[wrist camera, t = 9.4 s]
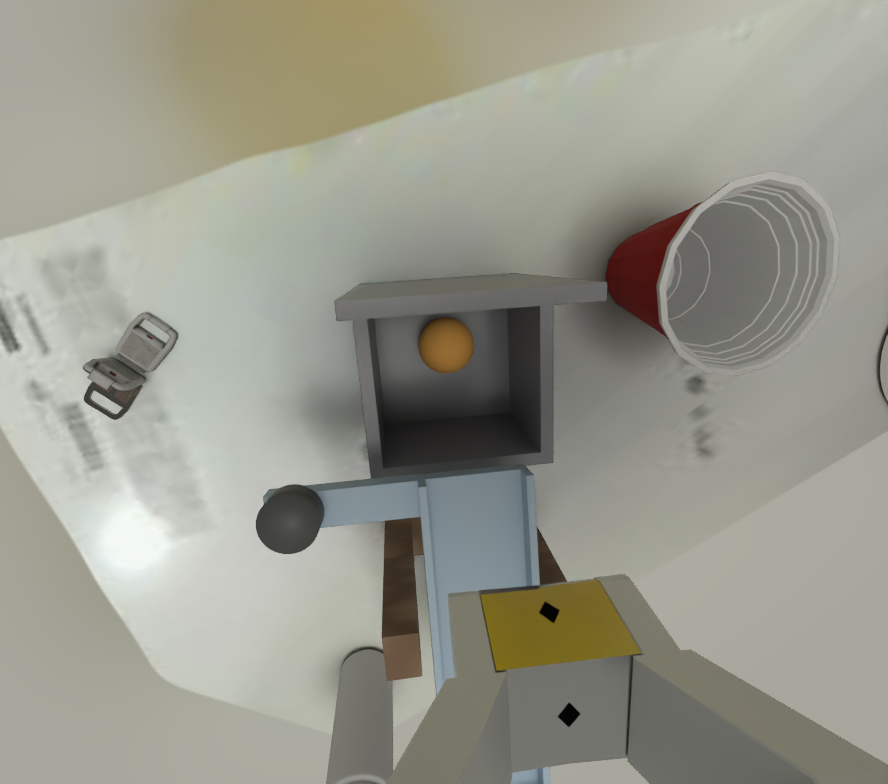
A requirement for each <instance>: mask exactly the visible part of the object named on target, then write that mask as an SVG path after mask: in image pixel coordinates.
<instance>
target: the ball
mask: <svg viewBox="0 0 888 784" xmlns="http://www.w3.org/2000/svg"><path fill="white" fill-rule="evenodd" d="M418 348H419V353H420V356H421V358H422V360H423V362H424V363H425V364H426V365H427V366H428V367H429V368H430V369H432V370H434V371H436V372H439V373H445V374H447V373H454V372H456V371H459V370H461V369H462V368H463V367H465V366H466V365H467V364H468V362H469V361H470V359H471V357H472V355H473V351H474V340H473V336H472V334H471V332H470V330H469V329H468V327H467V326H466V325H465V324H464V323H462V322H461V321H459V320H457V319H454V318H448V317H447V318H439V319H436V320H434V321H432V322H430V323H429V324H428V325H427V326H426V327H425V328H424V329H423V331H422V333H421V335H420V337H419V343H418Z"/></svg>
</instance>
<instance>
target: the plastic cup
mask: <svg viewBox="0 0 888 784" xmlns="http://www.w3.org/2000/svg"><path fill="white" fill-rule="evenodd" d="M839 243H840V236H839V233H838V230H837V227H836V224H835V221H834V218H833V215H832V212H831V209H830V206H829V203H828V202H827V201H826V200H825V199H824V198H823V197H822V196H821V195H820V194H819V193H818V192H817V191H816V190H815V189H814V188H813V187H812V186H811V185H810V184H809V183H808V182H806V181H805V180H804V179H801V178H796V177H792V176H788V175H783V174H779V173H775V172H771V171H770V172H766V173H762V174H758V175H754V176H750V177H747V178H743V179H739V180H735V181H732V182H730V183H728V184H726V185H725V186H723V187H722V188H721V189H719V190H718V191H717V192H715V193H714V194H713V195H711V196H710V197H709V198H707V199H706V200H705V201H703V202H701V203H698V204H696V205H694V206H693V207H692V208H690V209H688V210H686V211H684V212H681V213H679V214H677V215H674V216H672V217H670V218H668V219H665V220H663V221H661V222H659V223H656V224H654V225H652V226H650V227H648V228H647V229H646V230H644V231H642V232H639V233H637V234H635V235H633V236H631V237H630V238H629V239H627V240H626V241H625V242H623V243H622V244H621V245H620V246H619V247H617V249H616V251H615V252H614V254H613V255H612V257H611V258H610V260H609V263H608V268H607V272H606V280H607V287H608V290H609V292H610V294H611V295H612V297H613V299H614V300H615V301H616V303H617V304H619V305H620V306H622V307H623V308H625V309H626V310H627V311H629V312H630V313H631V314H633V315H634V316H636V317H637V318H639V319H640V320H642V321H643V322H645V323H647V324H648V325H650V326H651V327H653V328H655V329H656V330H658V331H659V332H660V333H661V334H663V335H664V336H666V338H667V339H668V340H669V342H670V344H671V345H672V347H673V349H674V351H675V352H676V353H677V354H678V355H679V356H680V357H682V358H683V359H685V360H686V361H688V362H689V363H691V364H692V365H694V366H695V367H696V368H698V369H699V370H701V371H702V372H705V373H713V374H721V375H730V376H737V375H740V374H744V373H747V372H750V371H754V370H757V369H760V368H764V367H767V366H769V365H770V364H772V363H773V362H774V361H776V360H777V359H779V358H780V357H781V356H783V355H784V354H786V353H787V352H788V351H790V350H791V349H793V348H794V347H795V346H797V345H798V344H799V343H800V342H801V340H802V339H803V338H804V336H805V335H806V334H807V333H808V331H809V330H810V329H811V327H812V326H813V325H814V323H815V322H816V321H817V320H818V318H819V317H820V316H821V314H822V313H823V311H824V308H825V306H826V303H827V301H828V298H829V296H830V293H831V290H832V288H833V285H834V283H835V280H836V278H837V274H838V258H839Z"/></svg>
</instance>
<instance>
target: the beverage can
mask: <svg viewBox="0 0 888 784" xmlns="http://www.w3.org/2000/svg"><path fill="white" fill-rule="evenodd" d="M392 772H393V695H392V680H391V681H387V677H386V668H385V660H384V654H383V653H381V652H379V651H377V650H372V649H364V650H360V651H358V652H356V653H354V654H352V655H351V656H350V657H348V658H347V659H346V660H345V662H344V663H343V665H342V668H341V671H340V679H339V687H338V694H337V702H336V710H335V718H334V726H333V734H332V741H331V749H330V758H329V765H328V773H327V781H326V784H386V783H387V781H388V779H389V777H390V776H391V774H392Z"/></svg>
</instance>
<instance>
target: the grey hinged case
mask: <svg viewBox="0 0 888 784" xmlns="http://www.w3.org/2000/svg"><path fill="white" fill-rule="evenodd" d="M145 319H146V320H148V321H150V322H151V323H153V324H154V325H155V326H157V327H158V328H160V329H161V330H163V331H164V332H166V333H167V334H168V335H169V336H170V338H169V340H168V342H167V343H164V342H163V341H162V340H160V339H159V338H157V337H156V336H154V335H153V334H151V333H150V332H148V331H147V330H145V329H144V328H142V327H141V326H139V325H140V324H141V323H142V322H143V321H144V320H145ZM177 339H178V333H177V332H176V331H175V330H174V329H172V327H170V326H169V325H167V324H166V323H164V322H163V321H162V320H160V319H159V318H157V317H156V316H153V315H152V314H150V313H142V314H140V315H139V316H138V317H137V318H136V319H135V320H133V321H132V322H131V323H130V325H129V327H128V328H127V330H126V332H125V333H124V335H123V337H122V338H121V340H120V342H119V344H118V345H117V347H116V351H117V352H118V355H117V356H118V357H119V358H121V359H123V360H124V361H126V362H127V363H129V364H130V365H132V366H133V367H135V368H136V369H138V370H140V371H141V372H143V373H146V372H151V371H153V370H155V369H156V368H157V367H158V366H159V365H160V363H161V362H162V361H163V360H164V359H165V357H166V356H167V355H168V354H169V352H170V351H171V350H172V349H173V347H174V345H175V343H176V341H177ZM83 369H84V370H85V371H86V372H88V373H89V374H90V375H89V376H88V379H90V380H92V381H93V382H92V383H91V384H90V386H89V387H88V389H87V391H86V394H85V396H84V401H85V402H86V403H87V404H88V405H90V406H92V407H94V408H95V409H97V410H99V411H100V412H102V413H103V414H105V415H107V416H108V417H110V418H111V419H114V420H116V419H119V418H121V417H122V416H123V415H124V414H125V413H126V412H127V411H128V410H129V408H130V407H131V405H132V404H133V402H134V400H135V399H136V397H137V395H138V394H139V392H140V390H141V389H142V387H143V385H142V384H143V383H144V381H145V379H144V378H143V377H142V376H140V375H139V374H137V373H136V372H134V371H133V370H131V369H129V368H128V367H126V366H125V365H123V364H122V363H120V362H119V361H117V360H115V359H113V358H101V359H92V360H91V361H89V362H88V363H86V364H85V365H84V366H83ZM94 390H95V391H97V392H98V393H100V394H102V395H103V396H105V397H106V398H108V399H110V400H111V401H113V402H114V403H116V404H118V405H119V406H121V407H123V409H122V410H121V411H120V412H119V413H118V414H114V413H112V412H110V411H109V410H107V409H105V408H104V407H102V406H100V405H99V404H97V403H96V402H94V401H93V400H91V395H92V393H93V391H94Z"/></svg>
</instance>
